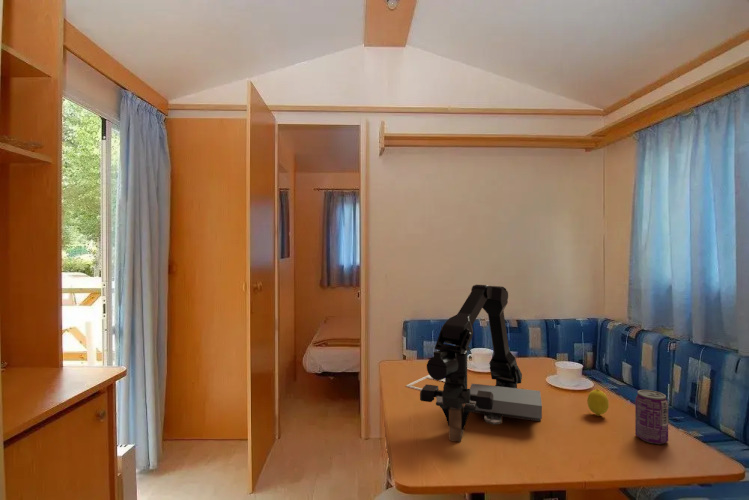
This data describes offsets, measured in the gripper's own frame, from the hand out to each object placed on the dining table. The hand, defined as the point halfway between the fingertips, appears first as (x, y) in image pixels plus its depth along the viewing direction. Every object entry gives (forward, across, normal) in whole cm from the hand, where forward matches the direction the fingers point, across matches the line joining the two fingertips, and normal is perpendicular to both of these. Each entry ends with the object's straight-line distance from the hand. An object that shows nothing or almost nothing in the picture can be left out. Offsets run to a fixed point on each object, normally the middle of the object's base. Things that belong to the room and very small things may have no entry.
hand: (456, 428), depth 108 cm
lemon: (+3, +38, +28) cm, 47 cm away
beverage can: (+2, +48, +16) cm, 51 cm away
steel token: (+2, +8, +14) cm, 16 cm away
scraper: (+2, 0, +6) cm, 6 cm away
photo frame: (+3, -13, +39) cm, 41 cm away
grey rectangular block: (+2, +11, +15) cm, 19 cm away
